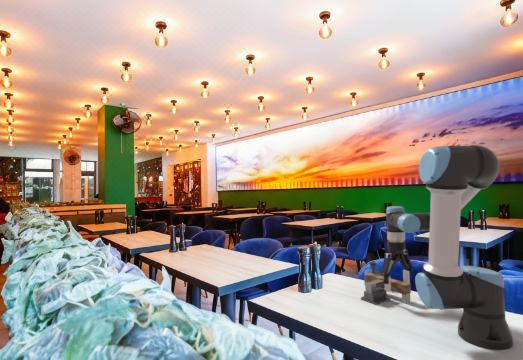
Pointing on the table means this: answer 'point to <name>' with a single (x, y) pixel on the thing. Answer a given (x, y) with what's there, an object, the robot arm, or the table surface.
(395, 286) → the batten
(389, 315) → the table surface
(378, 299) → the fulcrum
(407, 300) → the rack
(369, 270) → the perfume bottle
